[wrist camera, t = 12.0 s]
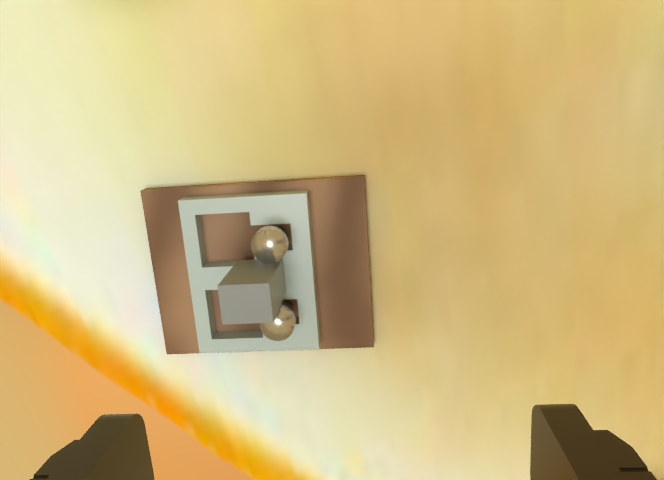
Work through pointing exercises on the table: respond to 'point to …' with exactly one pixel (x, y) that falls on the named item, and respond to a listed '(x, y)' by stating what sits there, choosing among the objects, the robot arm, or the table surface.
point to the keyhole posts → (271, 249)
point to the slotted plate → (218, 270)
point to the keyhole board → (235, 244)
